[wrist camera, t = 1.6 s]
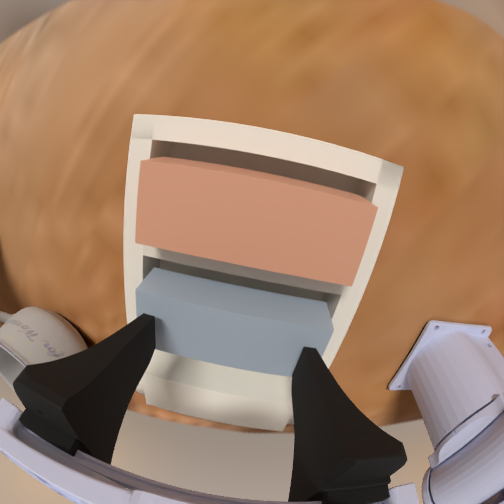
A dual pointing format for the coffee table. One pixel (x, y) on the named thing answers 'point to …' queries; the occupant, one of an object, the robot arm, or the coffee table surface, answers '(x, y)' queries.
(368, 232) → the terracotta key
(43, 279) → the coffee table surface
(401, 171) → the cream drawer frame
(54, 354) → the teacup
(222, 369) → the ivory key
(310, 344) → the slate key
